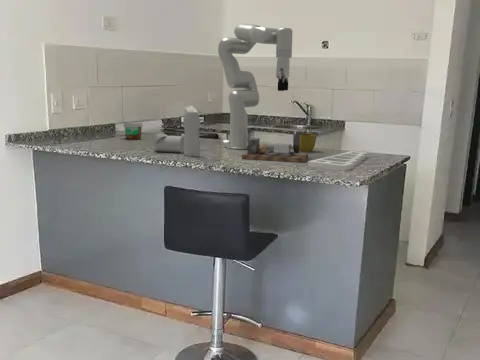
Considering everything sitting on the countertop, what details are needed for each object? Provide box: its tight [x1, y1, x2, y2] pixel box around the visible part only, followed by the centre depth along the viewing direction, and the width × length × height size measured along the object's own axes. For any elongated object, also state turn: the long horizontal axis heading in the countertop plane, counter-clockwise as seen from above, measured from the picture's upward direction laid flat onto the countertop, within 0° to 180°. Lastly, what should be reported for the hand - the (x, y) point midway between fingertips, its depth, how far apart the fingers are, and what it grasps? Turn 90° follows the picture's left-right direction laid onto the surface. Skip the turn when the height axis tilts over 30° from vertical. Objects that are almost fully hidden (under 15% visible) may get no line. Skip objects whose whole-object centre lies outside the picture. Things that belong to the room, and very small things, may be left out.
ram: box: [273, 131, 301, 154], centre depth 258 cm, size 12×8×10 cm, turn 75°
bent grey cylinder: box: [153, 132, 185, 154], centre depth 282 cm, size 18×11×20 cm
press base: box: [241, 137, 309, 163], centre depth 260 cm, size 30×14×9 cm, turn 75°
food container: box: [122, 122, 143, 141], centre depth 326 cm, size 12×6×10 cm, turn 73°
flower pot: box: [299, 133, 318, 153], centre depth 287 cm, size 9×9×9 cm
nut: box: [258, 144, 268, 154], centre depth 262 cm, size 4×4×4 cm
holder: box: [307, 150, 369, 172], centre depth 253 cm, size 45×18×3 cm, turn 143°
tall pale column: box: [182, 110, 201, 158], centre depth 264 cm, size 11×4×22 cm, turn 54°
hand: (282, 90), depth 263 cm, fingers open, 9 cm apart
